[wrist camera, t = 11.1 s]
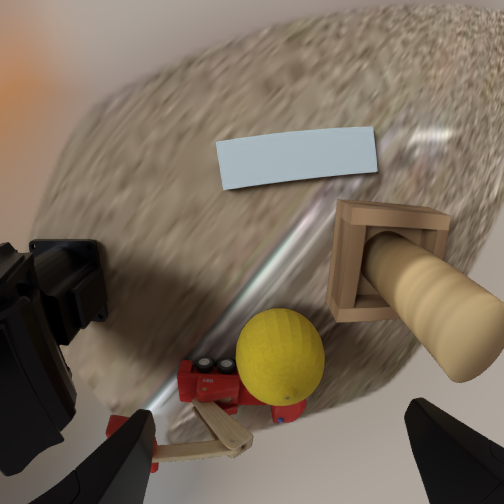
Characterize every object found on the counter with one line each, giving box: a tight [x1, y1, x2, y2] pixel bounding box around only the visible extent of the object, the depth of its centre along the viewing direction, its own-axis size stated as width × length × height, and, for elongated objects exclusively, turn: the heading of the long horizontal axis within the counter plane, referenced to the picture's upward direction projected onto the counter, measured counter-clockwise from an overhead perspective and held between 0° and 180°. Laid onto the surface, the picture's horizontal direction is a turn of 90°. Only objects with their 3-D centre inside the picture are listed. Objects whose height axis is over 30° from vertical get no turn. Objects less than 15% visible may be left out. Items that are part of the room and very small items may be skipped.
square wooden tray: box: [326, 199, 451, 322], centre depth 20 cm, size 8×8×3 cm
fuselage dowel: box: [360, 231, 504, 383], centre depth 15 cm, size 4×4×11 cm
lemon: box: [236, 308, 325, 406], centre depth 19 cm, size 6×6×8 cm
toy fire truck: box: [106, 357, 309, 473], centre depth 19 cm, size 3×14×10 cm, turn 87°
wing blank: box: [216, 127, 377, 190], centre depth 18 cm, size 10×3×1 cm, turn 98°
